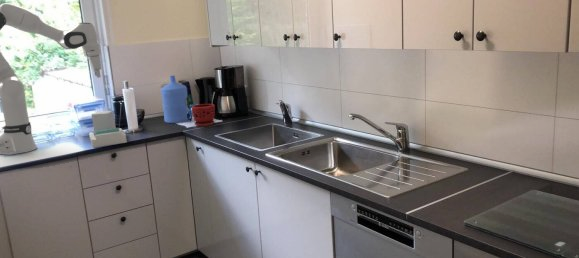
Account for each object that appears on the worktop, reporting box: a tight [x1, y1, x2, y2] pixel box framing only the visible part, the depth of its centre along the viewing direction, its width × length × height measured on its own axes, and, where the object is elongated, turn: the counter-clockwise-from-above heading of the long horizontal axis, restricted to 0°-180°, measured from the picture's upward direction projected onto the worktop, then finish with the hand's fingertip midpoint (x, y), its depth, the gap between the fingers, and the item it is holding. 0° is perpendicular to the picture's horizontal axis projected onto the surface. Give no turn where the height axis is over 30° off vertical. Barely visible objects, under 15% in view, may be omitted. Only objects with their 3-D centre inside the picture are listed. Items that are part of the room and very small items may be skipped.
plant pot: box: [191, 103, 216, 128], centre depth 308 cm, size 13×13×12 cm
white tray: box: [88, 127, 128, 148], centre depth 284 cm, size 20×17×6 cm
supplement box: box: [91, 110, 117, 136], centre depth 289 cm, size 9×9×15 cm
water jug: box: [160, 75, 190, 124], centre depth 324 cm, size 16×16×28 cm
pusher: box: [94, 127, 119, 135], centre depth 279 cm, size 4×12×7 cm, turn 114°
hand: (98, 76), depth 293 cm, fingers open, 8 cm apart
